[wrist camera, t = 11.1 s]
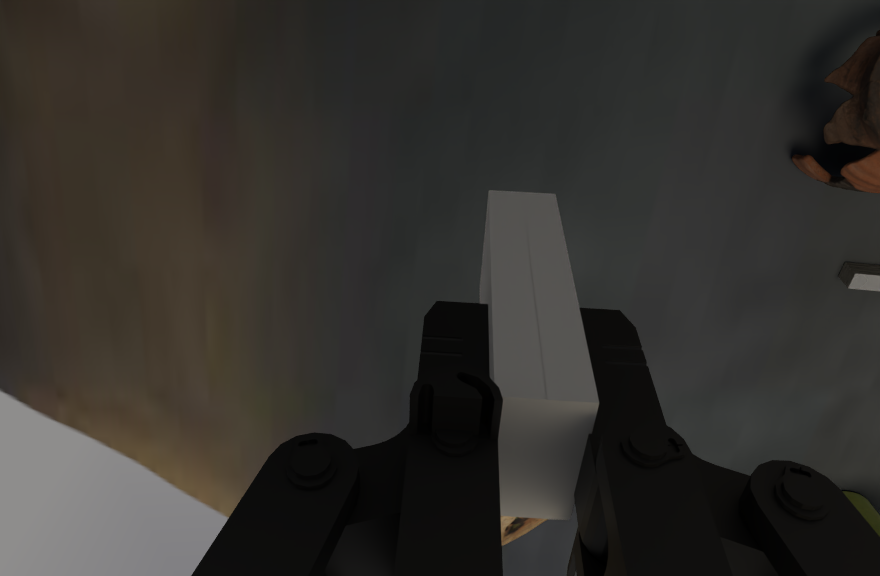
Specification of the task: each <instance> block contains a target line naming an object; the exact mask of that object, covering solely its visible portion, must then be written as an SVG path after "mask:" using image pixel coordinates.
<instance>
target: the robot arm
mask: <svg viewBox="0 0 880 576" xmlns="http://www.w3.org/2000/svg"><path fill="white" fill-rule="evenodd" d="M641 348H642V346H641V343H640V340H639V337H638V333H637V330H636V327H635V326H634V325H633V324H632V323H631V322H630V321H629V320H628V319H627V318H626V317H625V316H624V314H623V313H622V312H621V311H620V310H607V309H591V308H579V304H578V299H577V294H576V290H575V285H574V280H573V275H572V271H571V266H570V261H569V256H568V252H567V247H566V242H565V237H564V233H563V228H562V223H561V218H560V214H559V209H558V204H557V199H556V195H555V194H547V193H529V192H512V191H495V190H489V193H488V203H487V214H486V225H485V236H484V247H483V258H482V269H481V280H480V304H479V303H462V302H446V301H437V302H436V303H435V304H434V305H433V307H432V308H431V309H430V310H429V312H428V313H427V314H426V315H425V317H424V325H423V335H422V344H421V354H420V362H419V371H418V380H417V381H416V382H415V383H414V386H413V388H412V391H411V393H410V419H409V423H408V425H407V427H406V428H405V429H404V430H402V431H401V432H400V433H399V434H398V435H397V436H395V437H393V438H391V439H389V440H387V441H385V442H382V443H379V444H375V445H371V446H367V447H362V448H357V449H353V448H352V447H351V446H350V445H349V444H348V443H347V442H346V441H345V440H343V439H341V438H338V437H336V436H334V435H332V434H323V433H309V434H304V435H299V436H296V437H294V438H292V439H290V440H288V441H286V442H284V443H282V444H281V445H280V446H279V447H278V448H277V449H276V450H275V451H274V452H273V453H272V454H271V455H270V456H269V457H268V459H267V461H266V462H265V464H264V465H263V467H262V468H261V470H260V471H259V473H258V474H257V476H256V477H255V479H254V480H253V482H252V484H251V485H250V487H249V488H248V490H247V491H246V493H245V494H244V496H243V497H242V499H241V500H240V502H239V503H238V505H237V506H236V508H235V510H234V511H233V513H232V514H231V516H230V517H229V519H228V520H227V522H226V524H225V525H224V526H223V528H222V530H221V531H220V533H219V534H218V536H217V537H216V539H215V540H214V542H213V543H212V545H211V546H210V548H209V549H208V551H207V552H206V554H205V556H204V557H203V559H202V560H201V562H200V563H199V565H198V566H197V568H196V569H195V571H194V572H193V574H192V576H503V568H502V540H501V516H510V517H525V518H540V519H556V520H570V519H571V515H572V511H573V507H574V503H575V506H576V513H577V520H578V529H577V533H576V537H575V541H574V544H573V548H572V552H571V556H570V560H569V563H568V570H567V576H574V575H575V572H577V576H880V536H879V535H878V534H877V533H876V532H875V530H874V529H873V528H872V527H871V525H870V524H869V523H868V522H867V521H866V519H865V518H864V517H863V516H862V515H861V513H860V512H859V511H858V510H857V509H856V507H855V506H854V505H853V504H852V503H851V501H850V500H849V499H848V498H847V497H846V495H845V494H844V493H843V492H842V491H841V490H840V489H839V488H838V487H837V486H836V485H835V484H834V483H833V482H832V481H831V480H830V479H828V478H827V477H826V476H824V475H822V474H821V473H819V472H817V471H815V470H814V469H812V468H810V467H808V466H805V465H802V464H798V463H795V462H792V461H779V460H772V461H769V462H766V463H763V464H760V465H758V467H757V468H756V469H755V470H754V472H753V473H752V474H751V476H749V475H745V474H742V473H739V472H736V471H733V470H730V469H726V468H723V467H720V466H717V465H714V464H712V463H709V462H707V461H704V460H702V459H700V458H698V457H697V456H695V455H693V454H692V452H691V451H690V449H689V447H688V445H687V444H686V442H685V440H684V439H683V438H682V437H681V436H680V435H679V434H677V433H676V432H675V431H674V430H673V429H672V428H670V427H668V426H667V425H666V422H665V419H664V416H663V413H662V410H661V406H660V403H659V400H658V397H657V394H656V391H655V387H654V384H653V381H652V378H651V375H650V372H649V368H648V366H646V363H647V362H646V359H645V356H644V352H643V350H641Z"/></svg>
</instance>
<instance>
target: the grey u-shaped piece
mask: <svg viewBox="0 0 880 576" xmlns="http://www.w3.org/2000/svg"><path fill="white" fill-rule="evenodd" d="M838 277H839V278H840V279H841V281H842V282H843V283H844V284H845V285H846V286H847V288H850V289H861V290H872V291H880V265H872V264H861V263H850V262H845V264H844V266H843V268H842V270H841V272H840V274H839V276H838Z"/></svg>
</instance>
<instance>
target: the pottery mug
mask: <svg viewBox="0 0 880 576" xmlns="http://www.w3.org/2000/svg"><path fill="white" fill-rule="evenodd" d="M824 81H825V82H827V83H833V84H836V85H838V86H839V87H840V88H842V89H844V90H846V91H847V92H849V93H851V94H852V95H853V97H852V98H851V99H849V100H848V101H846V102H844V103H842V104H841V106H840V107H839V108H838V109H837V110H836V112H835V113H834V115H833V117H832V119H831V121H829V122H828V123H827V124H826V125H825V127H824V129H823V132H824V140H825V142H826V143H827V144H833V143H840V142H843V143H845V144H849V145H860V146H864V147H870V148H873V149H875V150H874V151H873V152H872V153H870V154H869V155H867V156H865V157H863V158H861V159H858V160H855V161H851V162H849V163H847V164H846V165H844V167H843V168H842V169H841V175H842V176H843V177H836V176H832V175H830V174H829V173H828V172H827V171H825V170H824V169H823V168H822V167H821V166H820V165H819V164H818V163H817V162H816V161H815V159H814V158H813V157H812V156H811V155H805V156H801V155H794V156H793V157H792V161H793V162H794V163H795V165H796V166H797V167H798V168H799V169H800V170H801V171H803V172H804V173H805V174H807V175H808V176H810V177H812V178H814V179H816V180H818V181H821V182H824V183H825V184H827V185H829V186H833V187H838V188H842V189H848V190H854V191H861V192H871V193H880V30H879V31H878V32H877V33H876V36H873V37H869V38H867V39H866V40H865V41H864V42H863V43H862V44H861V45H860V46H859V48H858V49H857V51H856V52H855V53H854V54H853V55H852V57H851V58H849V59H848V60H847V61H846V62H845V63H844V64H843V65H842V66H841V67H839V68H838V69H836V70H834V71H833V72H832V73H830V74H829V75H828V76H827V77H826V78H825V79H824Z"/></svg>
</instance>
